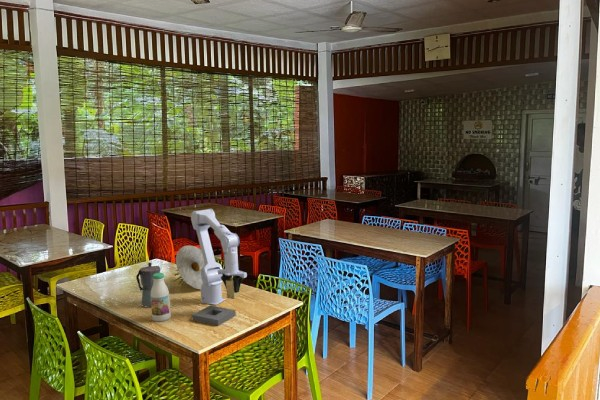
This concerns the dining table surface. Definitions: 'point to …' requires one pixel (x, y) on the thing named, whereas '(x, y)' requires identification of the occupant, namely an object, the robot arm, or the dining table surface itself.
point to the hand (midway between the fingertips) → (232, 291)
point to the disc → (190, 266)
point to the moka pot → (147, 282)
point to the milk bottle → (160, 299)
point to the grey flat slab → (209, 312)
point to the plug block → (231, 289)
